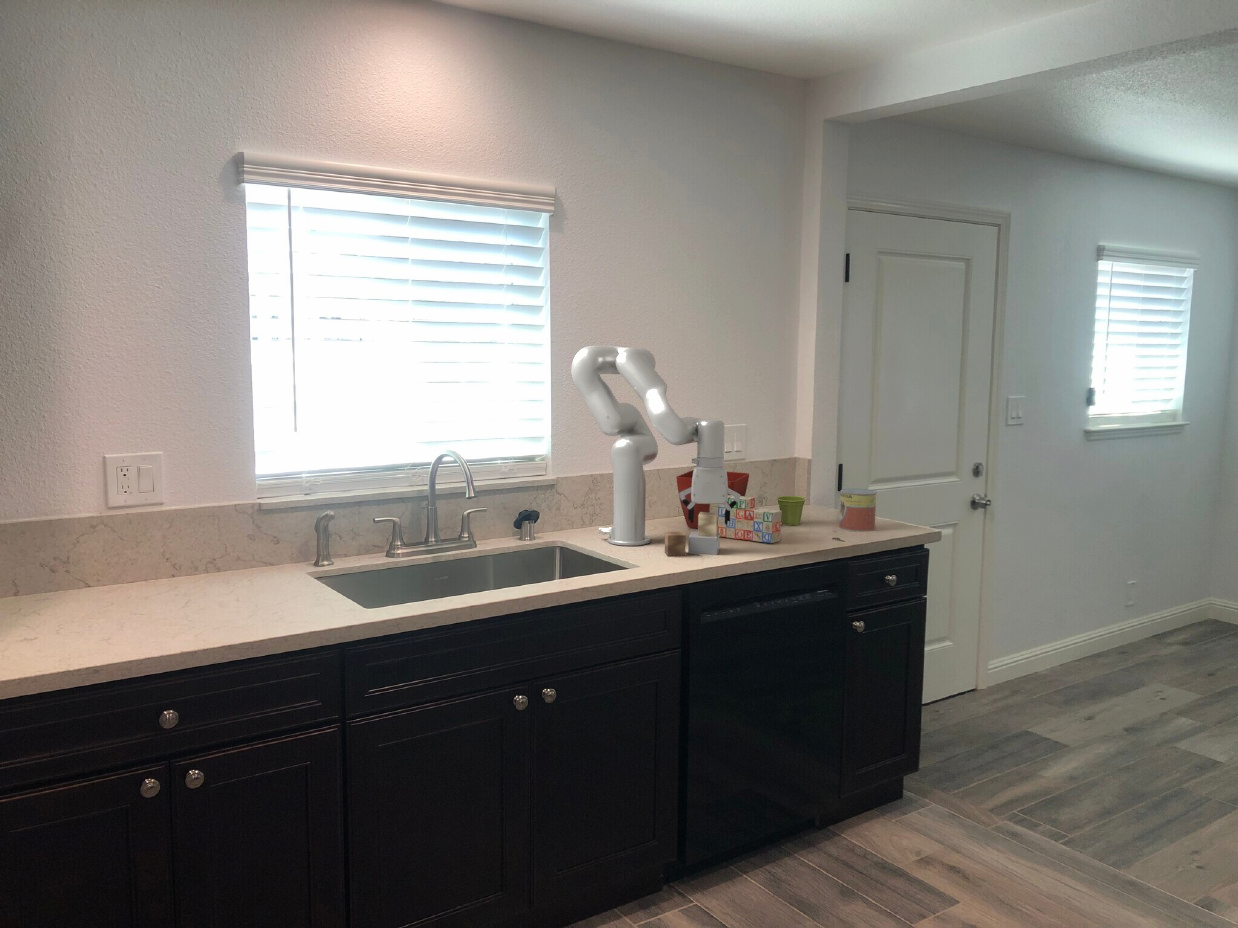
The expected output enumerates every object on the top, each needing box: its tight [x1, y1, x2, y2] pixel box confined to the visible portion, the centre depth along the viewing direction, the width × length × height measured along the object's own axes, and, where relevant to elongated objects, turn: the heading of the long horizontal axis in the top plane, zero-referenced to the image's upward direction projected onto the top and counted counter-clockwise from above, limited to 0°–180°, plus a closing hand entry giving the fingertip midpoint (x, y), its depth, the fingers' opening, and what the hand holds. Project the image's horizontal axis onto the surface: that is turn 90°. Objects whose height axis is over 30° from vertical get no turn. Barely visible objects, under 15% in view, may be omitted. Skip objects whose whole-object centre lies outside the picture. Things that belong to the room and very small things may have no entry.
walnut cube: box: [664, 531, 687, 558], centre depth 262 cm, size 5×5×6 cm
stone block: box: [687, 531, 721, 556], centre depth 266 cm, size 8×8×5 cm
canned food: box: [838, 488, 877, 533], centre depth 301 cm, size 11×11×12 cm
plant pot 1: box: [676, 469, 750, 529], centre depth 302 cm, size 19×19×17 cm
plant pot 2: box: [776, 495, 807, 527], centre depth 307 cm, size 9×9×9 cm
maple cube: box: [697, 512, 717, 537], centre depth 266 cm, size 5×5×6 cm
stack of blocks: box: [710, 495, 782, 544], centre depth 284 cm, size 21×6×12 cm, turn 54°
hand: (709, 522), depth 266 cm, fingers open, 9 cm apart
